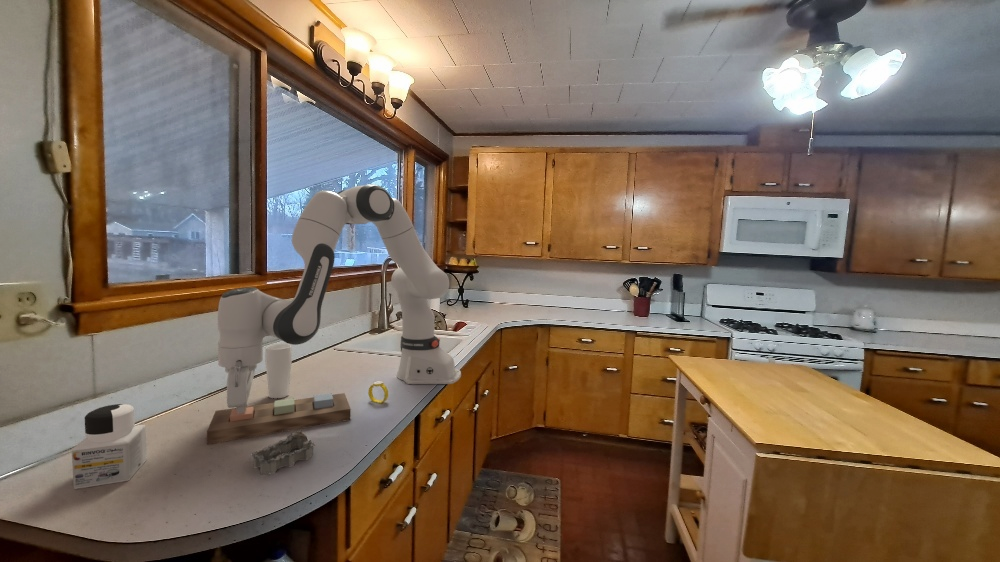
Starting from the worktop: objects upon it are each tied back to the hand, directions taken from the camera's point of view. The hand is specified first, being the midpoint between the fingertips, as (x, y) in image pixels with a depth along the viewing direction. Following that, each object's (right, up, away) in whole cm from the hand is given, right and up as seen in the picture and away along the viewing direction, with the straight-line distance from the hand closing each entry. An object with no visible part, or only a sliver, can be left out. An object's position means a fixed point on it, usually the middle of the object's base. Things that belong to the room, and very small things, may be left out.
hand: (241, 411), depth 93 cm
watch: (+27, -4, +19) cm, 33 cm away
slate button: (+16, -2, +9) cm, 18 cm away
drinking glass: (-3, -3, +21) cm, 21 cm away
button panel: (+8, -4, +5) cm, 10 cm away
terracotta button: (0, -3, 0) cm, 3 cm away
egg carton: (+18, -6, -13) cm, 23 cm away
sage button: (+8, -2, +5) cm, 9 cm away
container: (-11, -6, -20) cm, 23 cm away
